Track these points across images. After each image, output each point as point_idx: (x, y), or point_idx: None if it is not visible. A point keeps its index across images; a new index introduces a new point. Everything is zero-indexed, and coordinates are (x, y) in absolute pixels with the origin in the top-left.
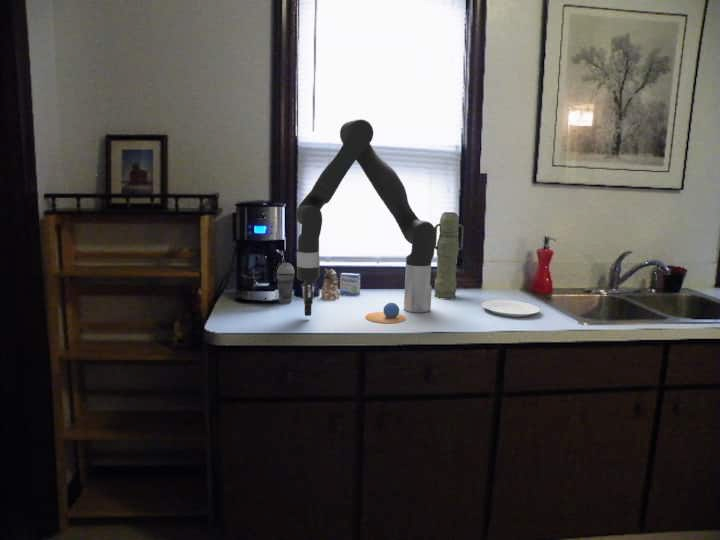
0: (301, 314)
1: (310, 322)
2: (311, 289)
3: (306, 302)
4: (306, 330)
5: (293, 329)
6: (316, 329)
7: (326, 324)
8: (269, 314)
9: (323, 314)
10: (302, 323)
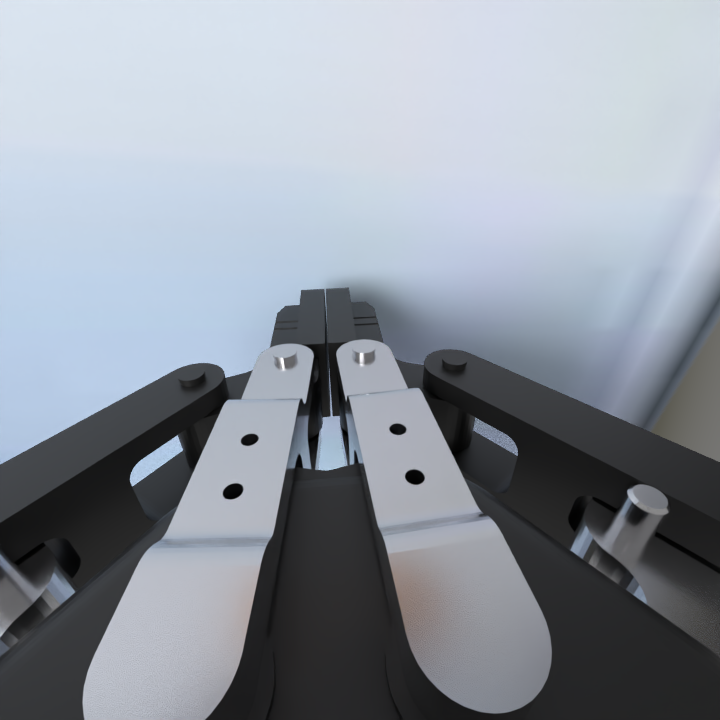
0: (150, 350)
1: (425, 275)
2: (665, 617)
3: (490, 441)
4: (642, 311)
5: (579, 395)
6: (653, 228)
7: (530, 103)
8: None
9: (84, 102)
10: (444, 340)
